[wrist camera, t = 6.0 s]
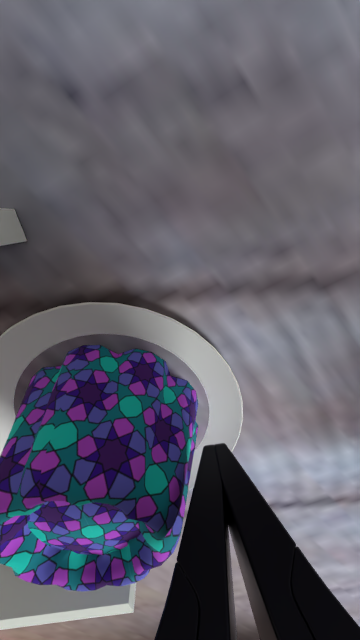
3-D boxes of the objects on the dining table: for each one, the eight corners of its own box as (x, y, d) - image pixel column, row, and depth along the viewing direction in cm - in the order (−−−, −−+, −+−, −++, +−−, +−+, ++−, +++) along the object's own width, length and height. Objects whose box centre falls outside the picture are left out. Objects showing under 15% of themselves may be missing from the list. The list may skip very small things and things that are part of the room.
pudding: (220, 265, 9) (276, 321, 4) (250, 471, 14) (292, 608, 9) (-75, 330, 10) (-318, 444, 5) (50, 507, 14) (-9, 653, 10)
